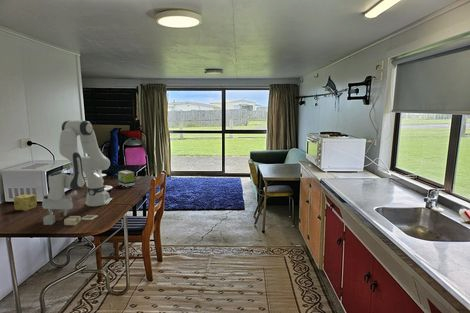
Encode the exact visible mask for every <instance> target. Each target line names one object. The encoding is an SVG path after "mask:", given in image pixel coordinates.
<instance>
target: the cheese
mask: <svg viewBox="0 0 470 313" xmlns="http://www.w3.org/2000/svg"><path fill="white" fill-rule="evenodd" d="M37 199H38V198H37V195H36V194H20V195H18V196H15V197H13V204H14V205H13V206H14V210H16V211H24V212H26V211H29V210H33V209H35V208H37V206H38V203H37V202H38V200H37Z"/></svg>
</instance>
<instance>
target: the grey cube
mask: <svg viewBox="0 0 470 313" xmlns="http://www.w3.org/2000/svg"><path fill="white" fill-rule="evenodd" d="M42 219H43V220H42V221H43V226H49V225H50V226H51V225H53V224H55V223H56V220H55V215H50V214H46V215H45V216H43V217H42Z"/></svg>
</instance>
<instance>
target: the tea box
mask: <svg viewBox="0 0 470 313" xmlns="http://www.w3.org/2000/svg"><path fill="white" fill-rule="evenodd" d="M117 175H118V176H117V177H118V179H117V180H118V186H120V185H122V186H121V187H123V186H125V187H127V186H132V185H135V183H136V182H135V172H134V171H131V170H127V169H125V170H120V171H117ZM125 187H124V188H125ZM132 187H133V186H132ZM127 188H128V187H127Z"/></svg>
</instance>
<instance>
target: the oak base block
mask: <svg viewBox="0 0 470 313" xmlns="http://www.w3.org/2000/svg"><path fill="white" fill-rule="evenodd" d="M81 218H82V217H81V216H80V215H70V216H68V217H65V218H64V219H63V224H64V226H77V224H79V223H80V222H81V221H82V220H81Z"/></svg>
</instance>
